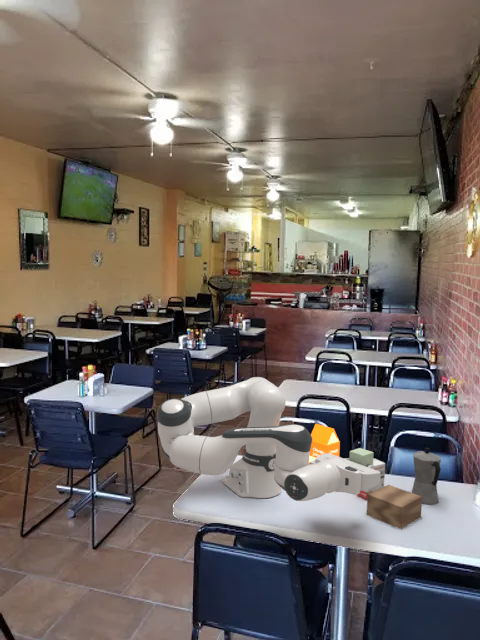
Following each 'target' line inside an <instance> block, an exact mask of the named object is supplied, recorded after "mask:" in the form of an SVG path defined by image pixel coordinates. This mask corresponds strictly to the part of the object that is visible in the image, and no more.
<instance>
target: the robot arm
mask: <svg viewBox="0 0 480 640" xmlns="http://www.w3.org/2000/svg"><path fill="white" fill-rule="evenodd" d="M285 409H286V398H285V396H284V394H283V392H282V390H281V389H280V388H279V387H278V386H276V385H275V384H274V383H273V382H271V381H269V380H268V379H266V378H265V377H262V376H253V377H250V378H249V379H245V380H244V381H239V382H238V383H235V384H231V385H228V386H225V387H220V388H216V389H210V390H205V391H200V392H197V393H194V394H190V395H187V396H184V397H182V398H169V399H166V400H165V401H163V402H162V403H161V404H159V406H158V407H157V411H156V420H157V431H158V436H159V440H160V444H161V450H162V453H163V456H165V458H166V459H167V460H168V461H170V462H171V463H172V464H173V465H174V466H175V467H177V468H180V469H182V470H184V471H188V472H191V473H195V474H200V475H206V476H215V477H216V476H221V475H223V474H225V473H227V471H228V475H226V476H224V477H223V478H222V479H221V482H222V483H223V484H224V485H225V486H227V488H229V489H230V490H231V491H233V492H234V493H235V494H236V495H237V496H238V497H240V498H257V499H267V498H268V499H269V498H274V497H276V496H277V495H280V494H281V492H282V490H283V491H284V492H285V493H286V494H287V496H288V497H289V498H290V499H291V500H292V501H296V502H306V501H312V500H315V499H318V498H320V497H324V496H325V494H331V493H334V492H335V493H345V494H350V495H353V496H354V495H357V494H359V493H360V490H361V491H364V490H368V489H371V488H374V487H376V486H378V485H379V484H380V479H381V476H380V472H379V471H377V470H374V465H371V464H367V465H366V466H363V465H360V464H358V463H355V462H352V461H349V457H348V458H346V457H345V458H343V457H341V456H339V457H338V456H335V455H333V454H330V453H325V454H322V455H320V456H318V457H316V458H315V460H313V461H310V463H309V456H310V450H311V445H312V436H311V433H310V432H309V430H308V428H306V427H305V426H304V425H300V424H284V425H280V421H281V418H282V414H283V412H284V410H285ZM248 412H250V415H249V420H248V424H247V426H245V427H244V426H243V427H235V428H229V429H226V430H225V431H224V432H223V433H222V434H220V435H218V436H207V435H197V434H195V431H194V429H195V427H196V426H206V425H210V424H217V423H220V422H225V421H229V420H235V418H237V417H238V416H241V415H242V414H245V413H248ZM243 446H245V448H243ZM242 448H243V449H242ZM239 453H240V454H242V457H241V458H240V459H238V460H236V458H237V457H238V454H239ZM235 460H236V462H235ZM309 464H310V465H309ZM357 496H358V495H357Z"/></svg>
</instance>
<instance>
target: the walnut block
mask: <svg viewBox="0 0 480 640" xmlns="http://www.w3.org/2000/svg"><path fill="white" fill-rule="evenodd" d="M422 505H423V504H422V497H421V496H419V495H416V494H413V493H412V492H411V491H407V490H405V489H401V488H399V487H397V486H393V485H390V484H386V485H384V487H382V488H380V489H378V490H376V491H373V492H371V493H369V494H368V496H367V501H366V516H369V517H370V518H374V519H376V520H378V521H380V522H383V523H385V524H388V525H390V526H392V527H395V528H397V529H399V530H401V529H403V528H405V527H407V526H408V524H409V525H410V524H412V523H414V522H416V521H417V520H419V519H420V518H422V507H423V506H422Z"/></svg>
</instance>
